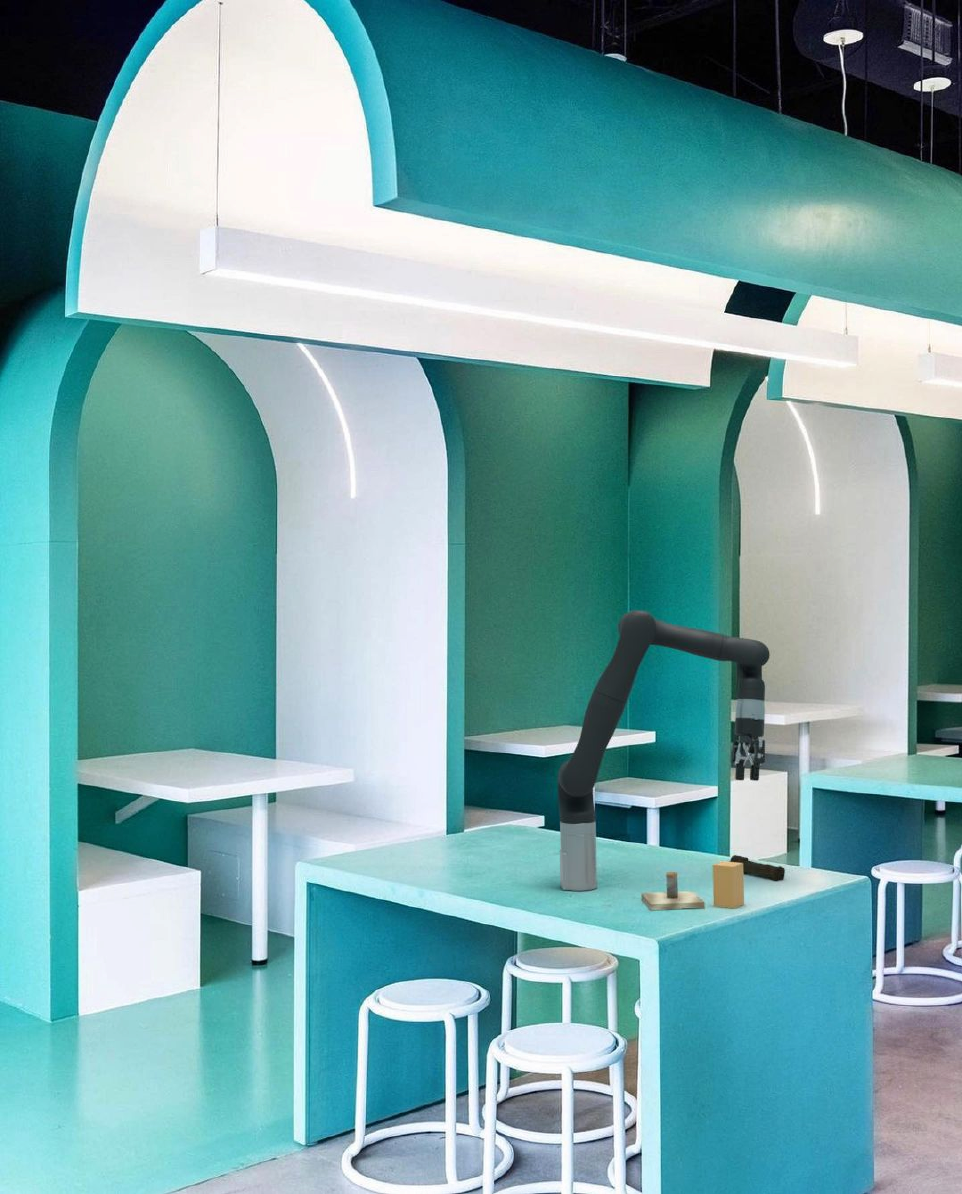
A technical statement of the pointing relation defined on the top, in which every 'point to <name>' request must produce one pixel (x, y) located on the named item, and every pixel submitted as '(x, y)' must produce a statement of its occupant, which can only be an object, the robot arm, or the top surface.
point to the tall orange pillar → (728, 884)
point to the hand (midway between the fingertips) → (746, 780)
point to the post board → (672, 903)
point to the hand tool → (760, 868)
